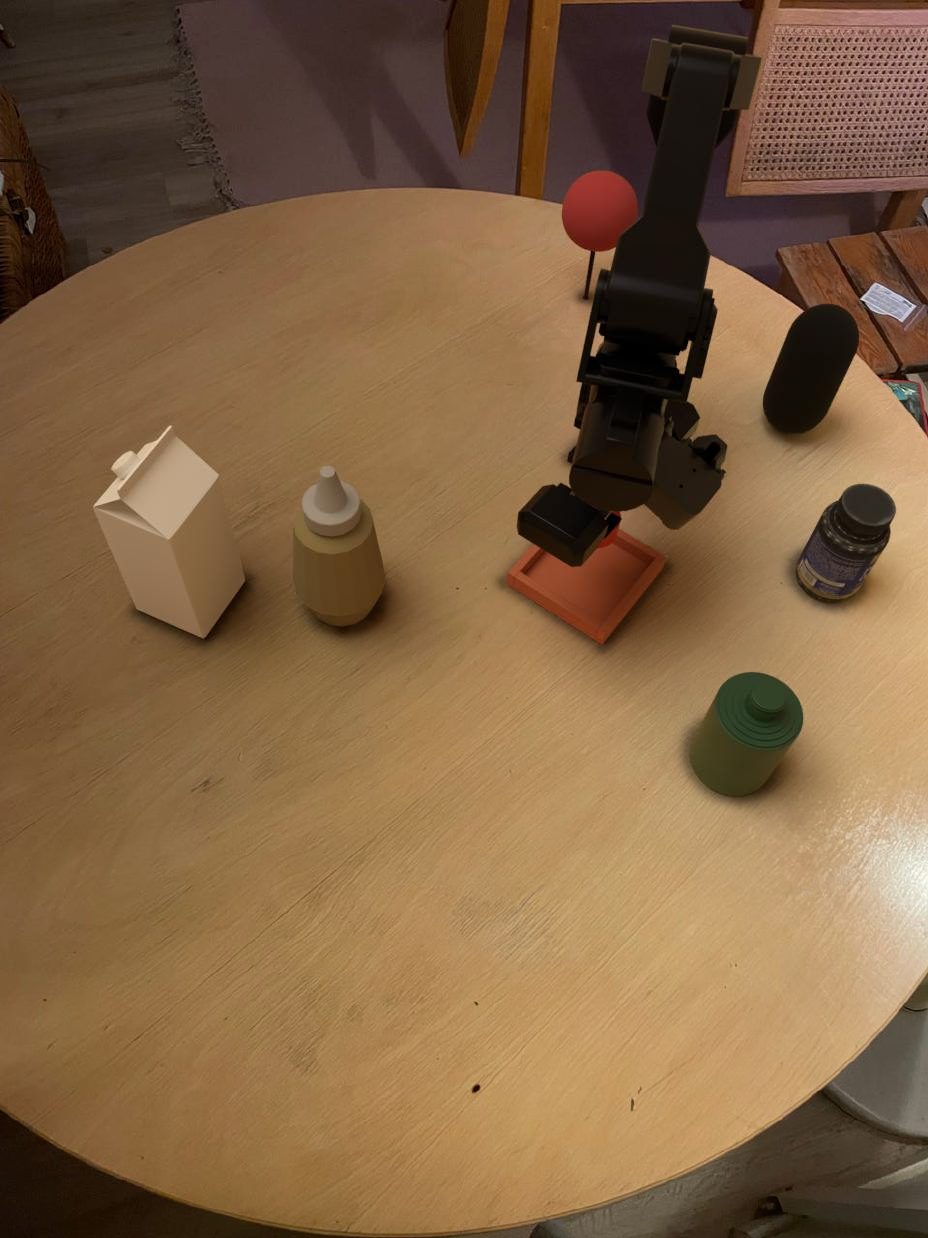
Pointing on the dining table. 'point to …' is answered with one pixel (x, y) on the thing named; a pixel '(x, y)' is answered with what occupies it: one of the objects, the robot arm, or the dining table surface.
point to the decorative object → (810, 368)
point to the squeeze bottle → (336, 552)
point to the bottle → (745, 733)
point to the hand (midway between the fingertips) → (596, 531)
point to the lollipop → (598, 213)
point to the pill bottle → (846, 543)
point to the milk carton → (172, 534)
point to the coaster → (589, 583)
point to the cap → (612, 535)
